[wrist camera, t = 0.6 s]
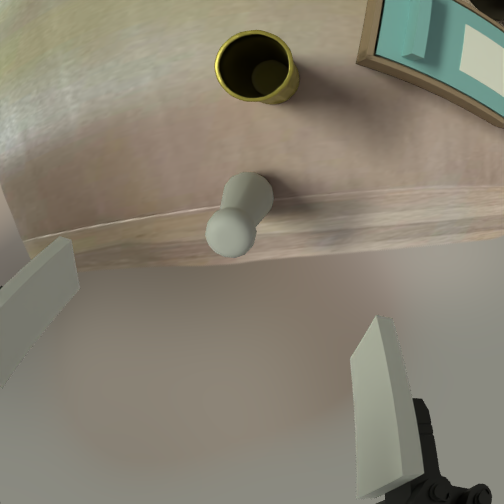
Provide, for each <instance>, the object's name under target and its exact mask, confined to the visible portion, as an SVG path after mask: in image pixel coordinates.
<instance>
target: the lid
mask: <svg viewBox="0 0 504 504" xmlns="http://www.w3.org/2000/svg"><path fill="white" fill-rule="evenodd" d="M375 55H376V56H379V57H382V58H385V59H388V60H390V61H393V62H396V63H398V64H401V65H403V66H406V67H408V68H411V69H413V70H415V71H418V72H420V73H422V74H425V75H427V76H429V77H431V78H433V79H435V80H438V81H440V82H442V83H444V84H446V85H448V86H450V87H452V88H454V89H456V90H457V91H459V92H461V93H463V94H465V95H467V96H468V97H470V98H472V99H474V100H476V101H477V102H479V103H481V104H482V105H484V106H486V107H487V108H489V109H491V110H492V111H494V112H495V113H497V114H498V115H500V116H502V117H503V118H504V33H503V32H502V31H500V30H499V29H498V28H496V27H495V26H493V25H492V24H490V23H489V22H487V21H486V20H484V19H483V18H481V17H480V16H478V15H476V14H475V13H473V12H471V11H470V10H468V9H466V8H465V7H463V6H461V5H459V4H458V3H456V2H454V1H452V0H384V5H383V12H382V18H381V24H380V29H379V35H378V40H377V46H376V51H375Z"/></svg>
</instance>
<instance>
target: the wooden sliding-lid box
mask: <svg viewBox="0 0 504 504" xmlns="http://www.w3.org/2000/svg"><path fill="white" fill-rule="evenodd" d="M452 1H454V2H456V3H458V4H459V5H461V6H463V7H465V8H466V9H468V10H470V11H471V12H473V13H475V14H476V15H478V16H480V17H481V18H483V19H484V20H486V21H487V22H489V23H490V24H492V25H493V26H495V27H496V28H498V29H499V30H500V31H502V32H503V33H504V27H503V26H501V25H500V24H498V23H497V22H495V21H494V20H493V19H491V18H490V17H488V16H487V15H485V14H484V13H482V12H480V11H479V10H477V9H476V8H474V7H472V6H471V5H469V4H467V3H466V2H464V1H462V0H452ZM383 5H384V0H368V3H367V9H366V14H365V20H364V26H363V31H362V36H361V41H360V46H359V51H358V56H357V61H356V64H359V65H362V66H365V67H368V68H371V69H374V70H377V71H380V72H383V73H385V74H388V75H391V76H394V77H396V78H399V79H401V80H404V81H406V82H409V83H411V84H414V85H416V86H418V87H421V88H423V89H425V90H428V91H430V92H432V93H434V94H436V95H438V96H441V97H443V98H445V99H447V100H449V101H451V102H453V103H455V104H457V105H459V106H460V107H462V108H464V109H466V110H468V111H470V112H472V113H473V114H475V115H477V116H479V117H480V118H482V119H484V120H486V121H487V122H489V123H491V124H492V125H494V126H497V127H500V128H504V118H503V117H502V116H500V115H498V114H497V113H495V112H494V111H492V110H491V109H489V108H487V107H486V106H484V105H482V104H481V103H479V102H477V101H476V100H474V99H472V98H470V97H468V96H467V95H465V94H463V93H461V92H459V91H457V90H456V89H454V88H452V87H450V86H448V85H446V84H444V83H442V82H440V81H438V80H435V79H433V78H431V77H429V76H427V75H425V74H422V73H420V72H418V71H415V70H413V69H411V68H408V67H406V66H403V65H401V64H398V63H396V62H393V61H390V60H388V59H385V58H382V57H379V56H376V55H375V51H376V46H377V40H378V35H379V29H380V24H381V18H382V12H383Z"/></svg>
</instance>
